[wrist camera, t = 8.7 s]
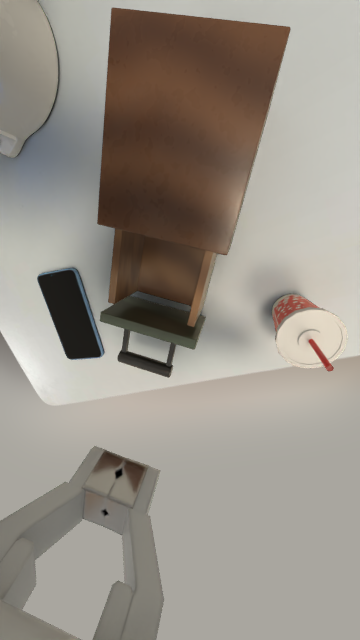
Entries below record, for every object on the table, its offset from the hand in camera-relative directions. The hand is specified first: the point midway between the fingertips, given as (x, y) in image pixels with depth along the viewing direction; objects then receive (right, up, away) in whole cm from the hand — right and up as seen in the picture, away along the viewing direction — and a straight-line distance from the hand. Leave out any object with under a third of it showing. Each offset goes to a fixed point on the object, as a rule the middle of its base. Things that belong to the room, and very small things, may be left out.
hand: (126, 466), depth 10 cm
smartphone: (-15, +7, +28) cm, 33 cm away
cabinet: (+4, +23, +17) cm, 30 cm away
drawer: (+1, +11, +22) cm, 24 cm away
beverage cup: (+17, +7, +21) cm, 27 cm away
